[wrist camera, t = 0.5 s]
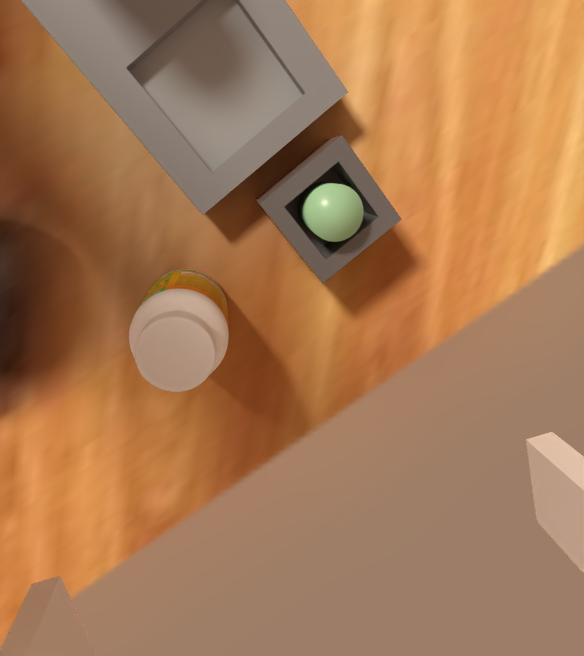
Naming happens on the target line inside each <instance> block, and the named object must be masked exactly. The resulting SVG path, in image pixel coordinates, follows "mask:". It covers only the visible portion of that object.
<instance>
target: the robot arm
mask: <svg viewBox="0 0 584 656" xmlns="http://www.w3.org/2000/svg"><path fill="white" fill-rule="evenodd" d="M526 443H527V451H528V459H529V466H530V473H531V481H532V489H533V496H534V504H535V511H536V518H537V522H538V523H539V524H540V525H541V526H542V527H543V529H544V530H545V531H546V532H547V533H548V534H549V535H550V536H551V537H552V539H553V540H554V541H555V542H556V543H557V544H558V545H559V546H560V548H561V549H562V550H563V551H564V552H565V553H566V554H567V555H568V556H569V558H570V559H571V560H572V561H573V562H574V563H575V564H576V565H577V566H578V568H579V569H580V570H581V571H582V572H583V573H584V457H583V456H582V455H581V454H579V453H578V452H577V451H576V450H574V449H573V448H572V447H571V446H569V445H568V444H567V443H565V442H564V441H563V440H562V439H560V438H559V437H558V436H556V435H555V434H554V433H553V432H550V433H547V434H543V435H540V436H537V437H533V438H530V439H526ZM0 656H96V651H95V649H94V647H93V645H92V643H91V641H90V639H89V636H88V635H87V632H86V630H85V628H84V626H83V624H82V622H81V620H80V617H79V615H78V613H77V611H76V609H75V607H74V605H73V603H72V600H71V598H70V596H69V594H68V592H67V590H66V588H65V586H64V583H63V581H62V579H61V577H60V576H58V577H55V578H51V579H48V580H44V581H41V582H38V583H34V584H32V585H31V587H30V589H29V591H28V593H27V595H26V597H25V599H24V601H23V603H22V606H21V608H20V610H19V612H18V614H17V616H16V618H15V620H14V622H13V624H12V627H11V629H10V631H9V633H8V635H7V637H6V639H5V641H4V643H3V646H2V648H1V650H0Z"/></svg>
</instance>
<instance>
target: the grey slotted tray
mask: <svg viewBox="0 0 584 656" xmlns="http://www.w3.org/2000/svg"><path fill="white" fill-rule="evenodd" d="M21 1H22V2H23V3H24V5H25V6H26V7H27V8H28V9H29V10H30V12H31V13H32V14H33V15H34V16H35V18H36V19H37V20H38V21H39V22H40V23H41V25H42V26H43V27H44V28H45V29H46V31H47V32H48V33H49V34H50V35H51V36H52V38H53V39H54V40H55V41H56V42H57V44H58V45H59V46H60V47H61V48H62V49H63V51H64V52H65V53H66V54H67V55H68V57H69V58H70V59H71V60H72V61H73V62H74V64H75V65H76V66H77V67H78V68H79V70H80V71H81V72H82V73H83V74H84V75H85V77H86V78H87V79H88V80H89V81H90V83H91V84H92V85H93V86H94V87H95V88H96V90H97V91H98V92H99V93H100V94H101V96H102V97H103V98H104V99H105V100H106V101H107V103H108V104H109V105H110V106H111V107H112V109H113V110H114V111H115V112H116V113H117V114H118V116H119V117H120V118H121V119H122V120H123V121H124V123H125V124H126V125H127V126H128V127H129V129H130V130H131V131H132V132H133V133H134V134H135V136H136V137H137V138H138V139H139V140H140V142H141V143H142V144H143V145H144V146H145V147H146V149H147V150H148V151H149V152H150V153H151V155H152V156H153V157H154V158H155V159H156V160H157V162H158V163H159V164H160V165H161V166H162V168H163V169H164V170H165V171H166V172H167V173H168V175H169V176H170V177H171V178H172V179H173V181H174V182H175V183H176V184H177V185H178V186H179V188H180V189H181V190H182V191H183V192H184V194H185V195H186V196H187V197H188V198H189V199H190V201H191V202H192V203H193V204H194V205H195V207H196V208H197V209H198V210H199V211H200V212H201V214H202V215H203V214H205V213H206V212H207V211H208V210H209V209H211V208H212V207H213V206H214V205H215V204H216V203H218V202H219V201H220V200H221V199H222V198H224V197H225V196H226V195H227V194H228V193H229V192H231V191H232V190H233V189H234V188H235V187H237V186H238V185H239V184H240V183H241V182H242V181H244V180H245V179H246V178H247V177H248V176H250V175H251V174H252V173H253V172H254V171H256V170H257V169H258V168H259V167H260V166H261V165H263V164H264V163H265V162H266V161H267V160H269V159H270V158H271V157H272V156H273V155H274V154H276V153H277V152H278V151H279V150H280V149H282V148H283V147H284V146H285V145H286V144H287V143H289V142H290V141H291V140H292V139H293V138H295V137H296V136H297V135H298V134H299V133H300V132H302V131H303V130H304V129H305V128H306V127H308V126H309V125H310V124H311V123H312V122H313V121H315V120H316V119H317V118H318V117H319V116H321V115H322V114H323V113H324V112H325V111H326V110H328V109H329V108H330V107H331V106H332V105H334V104H335V103H336V102H337V101H338V100H340V99H341V98H342V97H343V96H344V95H345V94H347V93H348V91H347V90H346V88H345V87H344V85H343V84H342V82H341V81H340V80H339V78H338V77H337V75H336V74H335V72H334V71H333V69H332V68H331V66H330V65H329V63H328V62H327V61H326V59H325V58H324V56H323V55H322V53H321V52H320V50H319V49H318V47H317V46H316V44H315V43H314V42H313V40H312V39H311V37H310V36H309V34H308V33H307V31H306V30H305V28H304V27H303V25H302V24H301V23H300V21H299V20H298V18H297V17H296V15H295V14H294V12H293V11H292V9H291V8H290V7H289V5H288V4H287V2H286V1H285V0H21Z"/></svg>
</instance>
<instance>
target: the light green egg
mask: <svg viewBox="0 0 584 656" xmlns="http://www.w3.org/2000/svg"><path fill="white" fill-rule="evenodd" d="M363 213H364V211H363V204H362V201H361V199H360V197H359V195H358V194H357V193H356V192H355V191H354V190H353V189H351V188H350V187H348V186H346V185H342V184H335V183H327V182H321V183H316V184H313V185H311V186H310V187H308V188H307V189H306V190H305V191H304V192H303V194H302V195H301V197H300V200H299V203H298V214H299V218H300V220H301V222H302V223H303V225H304V226H305V227H306V228H307V229H308V230H310V231H311V232H313V233H314V234H316V235H317V236H319V237H320V238H322V239H324V240H327V241H331V242H338V241H343V240H346V239H348V238H349V237H351V236H352V235H353V234H354V233H355V232H356V231H357V230H358V229H359V227H360V225H361V223H362V220H363Z"/></svg>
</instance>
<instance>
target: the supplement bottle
mask: <svg viewBox="0 0 584 656" xmlns="http://www.w3.org/2000/svg"><path fill="white" fill-rule="evenodd" d="M228 340H229V329H228V308H227V301H226V297H225V295H224V292H223V290H222V289H221V287H220V286H219V285H218V283H217V282H216V281H215V280H213V279H212V278H211V277H210V276H208V275H206V274H205V273H202V272H200V271H196V270H192V269H179V270H174V271H171V272H169V273H166V274H164V275H163V276H161V277H160V278H159V279H158V280H157V281H156V282H155V283H154V284H153V285H152V286H151V288H150V289H149V291H148V293H147V294H146V296H145V298H144V299H143V301H142V303H141V305H140V306H139V308H138V309H137V311H136V313H135V314H134V316H133V319H132V322H131V325H130V330H129V343H130V348H131V352H132V354H133V356H134V358H135V361H136V365H137V368H138V370H139V372H140V373H141V375H142V376H143V377H144V378H145V379H146V380H147V381H148V382H149V383H150V384H152V385H153V386H155V387H157V388H159V389H162V390H165V391H170V392H181V391H187V390H190V389H192V388H195V387H197V386H198V385H200V384H201V383H202V382H204V381H205V380H206V379H207V377H208V376H209V375H210V374H211V373H212V372H213V371H214V370H215V369H216V368H217V367H218V366H219V364H220V363H221V362H222V360H223V358H224V356H225V353H226V350H227V346H228Z"/></svg>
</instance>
